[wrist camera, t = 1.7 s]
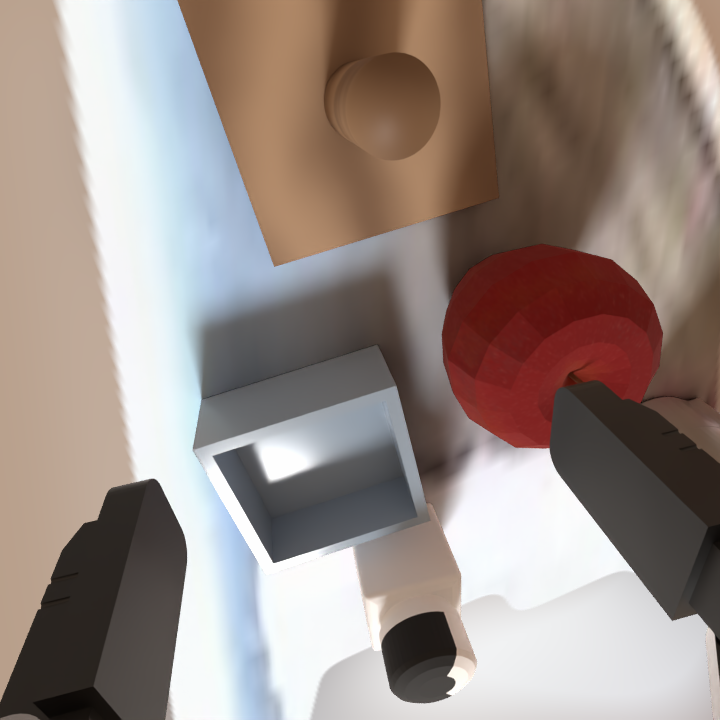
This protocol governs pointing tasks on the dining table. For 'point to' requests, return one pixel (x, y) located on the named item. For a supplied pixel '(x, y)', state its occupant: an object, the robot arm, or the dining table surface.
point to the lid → (349, 112)
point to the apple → (545, 337)
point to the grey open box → (313, 459)
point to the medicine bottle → (416, 611)
